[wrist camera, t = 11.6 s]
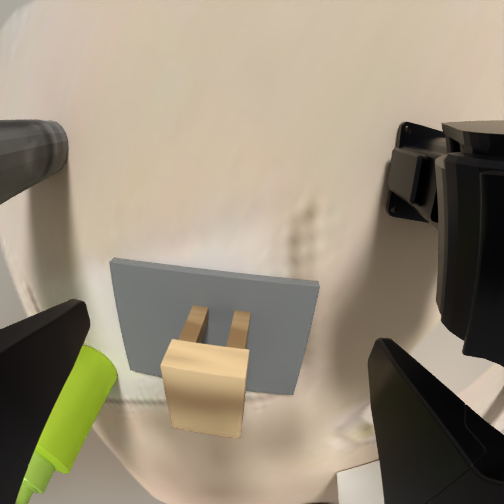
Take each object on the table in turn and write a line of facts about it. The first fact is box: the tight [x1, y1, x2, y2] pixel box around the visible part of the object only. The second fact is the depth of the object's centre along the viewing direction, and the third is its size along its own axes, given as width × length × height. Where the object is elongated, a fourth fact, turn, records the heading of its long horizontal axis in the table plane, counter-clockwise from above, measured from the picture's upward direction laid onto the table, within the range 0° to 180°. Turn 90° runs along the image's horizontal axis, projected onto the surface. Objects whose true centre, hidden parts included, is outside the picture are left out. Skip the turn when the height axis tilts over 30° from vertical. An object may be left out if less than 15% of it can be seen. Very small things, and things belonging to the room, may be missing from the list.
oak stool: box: [160, 305, 251, 438], centre depth 21 cm, size 7×5×7 cm
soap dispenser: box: [15, 345, 117, 504], centre depth 20 cm, size 6×7×20 cm
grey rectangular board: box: [109, 258, 320, 395], centre depth 25 cm, size 16×12×1 cm
